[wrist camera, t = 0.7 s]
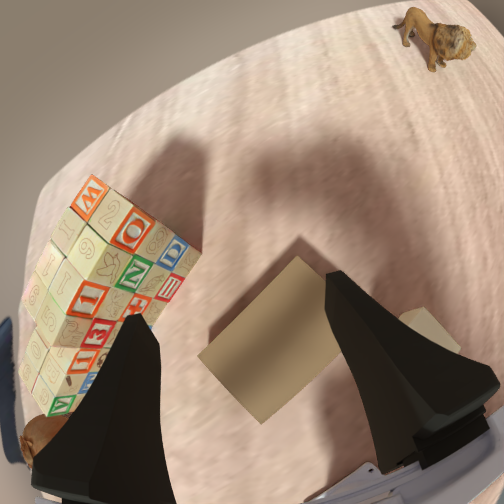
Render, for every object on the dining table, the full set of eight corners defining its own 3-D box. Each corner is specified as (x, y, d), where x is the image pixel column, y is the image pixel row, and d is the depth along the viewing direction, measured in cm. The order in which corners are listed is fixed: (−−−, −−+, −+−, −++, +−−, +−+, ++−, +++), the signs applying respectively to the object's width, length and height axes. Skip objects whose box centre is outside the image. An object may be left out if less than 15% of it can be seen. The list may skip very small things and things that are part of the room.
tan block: (363, 322, 25) (368, 321, 22) (267, 415, 24) (261, 424, 22) (299, 263, 27) (297, 255, 25) (209, 354, 27) (197, 356, 24)
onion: (54, 435, 28) (0, 445, 19) (75, 394, 29) (12, 400, 20) (98, 487, 25) (45, 510, 15) (124, 451, 26) (63, 475, 16)
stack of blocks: (105, 407, 28) (21, 421, 16) (75, 370, 30) (-6, 370, 18) (204, 252, 30) (133, 202, 18) (162, 223, 32) (89, 170, 20)
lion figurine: (469, 82, 27) (486, 36, 19) (447, 89, 28) (463, 39, 19) (403, 27, 32) (406, -17, 24) (379, 32, 33) (380, -15, 24)
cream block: (434, 346, 22) (461, 348, 16) (400, 383, 22) (419, 396, 16) (403, 312, 24) (424, 306, 18) (368, 349, 24) (380, 354, 18)
